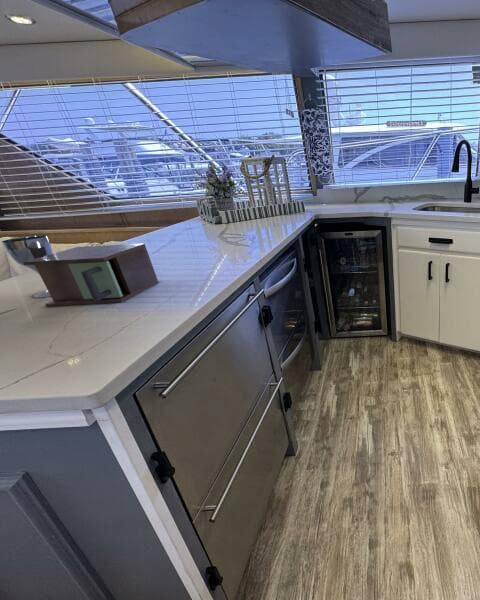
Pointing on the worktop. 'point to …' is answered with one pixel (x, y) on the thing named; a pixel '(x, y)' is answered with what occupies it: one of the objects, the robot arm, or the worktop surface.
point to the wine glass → (29, 252)
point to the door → (95, 280)
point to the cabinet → (123, 260)
